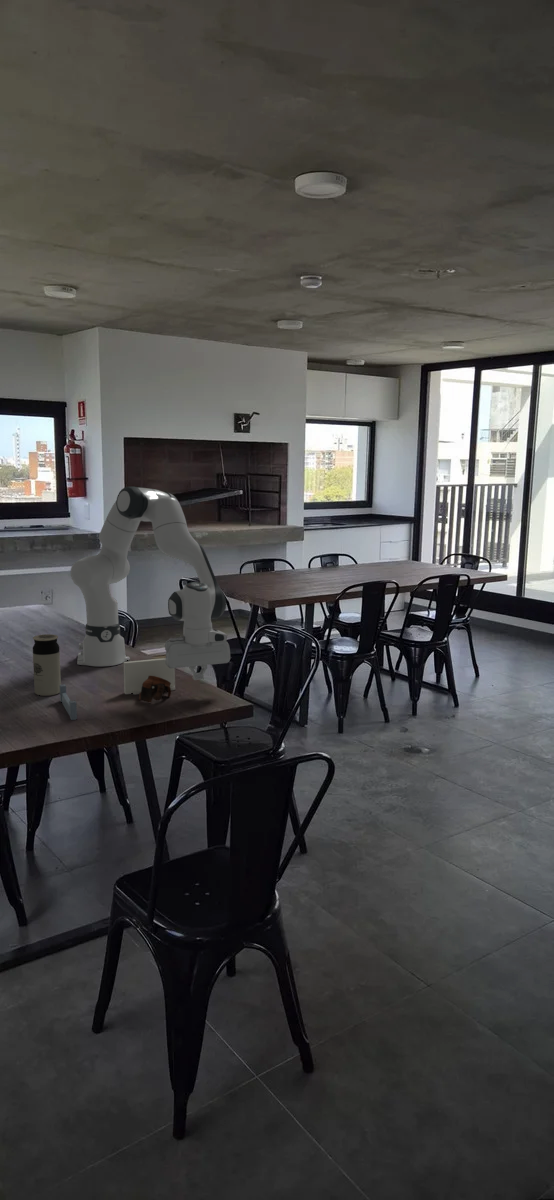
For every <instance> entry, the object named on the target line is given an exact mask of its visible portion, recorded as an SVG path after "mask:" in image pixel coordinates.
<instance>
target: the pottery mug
mask: <svg viewBox="0 0 554 1200" xmlns="http://www.w3.org/2000/svg"><path fill="white" fill-rule="evenodd" d="M170 684H171V683H170V682H169V681H167V680H165V679H163V678H160V677H156V676H148V679H147V680H146V681H144V682H143V684H142V685H143V686H142V689H141V693H140V694H138V695H139V696H138V701H143V702H146V703H149V702H151V703H152V701H153V699H154V700H155V701H156V702H157V701H160V700H162V697H163V693H164V691H165V692H166V693H167V697H168V698H170V697H171V695H172V690H171V688H170ZM152 686H154V688H153V689H152Z"/></svg>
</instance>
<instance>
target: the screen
mask: <svg viewBox="0 0 554 1200" xmlns="http://www.w3.org/2000/svg"><path fill="white" fill-rule="evenodd" d="M165 659H166V657H164V658H153V659H151V658H150V659H142V660H128V661H124V662H123V693H124V695H139V693H141V689H142V686H143V685H142V684H143V682H144V681H146V680H147V679H148V676H156V677H160V678H163V679H165V680H167V681H169V682H170V683H171V684H170V688H171V691H175V690H176V668H169V667H168V666H167V665H166V663H165ZM153 688H154V686H152V689H153ZM131 693H133V694H131Z"/></svg>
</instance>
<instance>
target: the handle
mask: <svg viewBox="0 0 554 1200" xmlns="http://www.w3.org/2000/svg"><path fill="white" fill-rule="evenodd" d="M59 700H60V701H59V702H60V703H61V702H62V703H61V704H62V705H63V707H64V709H65V711H66V713H67V714H68V716H69V719H70V720H71V721H76V719H77V720H78V710H77V709H78V708H77V701H76V700H71V699H70V697H69V695H68V694H67V685H66V684H65V683H63V684H62V683H61V685H60V693H59Z"/></svg>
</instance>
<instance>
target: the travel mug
mask: <svg viewBox="0 0 554 1200" xmlns="http://www.w3.org/2000/svg"><path fill="white" fill-rule="evenodd" d="M32 639H33V641H34V645H33V646H32V661H33V663H32V665H33V680H34V681H33V683H34V684H33V685H34V694H35V695H37V696H39V695H40V696H41V697H49V696H50V697H51V696H55V695H58V694H60V685H62V682H61V657H60V654H61V653H60V644H59V642H58V639H59V635H57V634H53V633H52V634H50V633H49V634H48V633H47V634H37V635H35V636H33V637H32Z"/></svg>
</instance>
